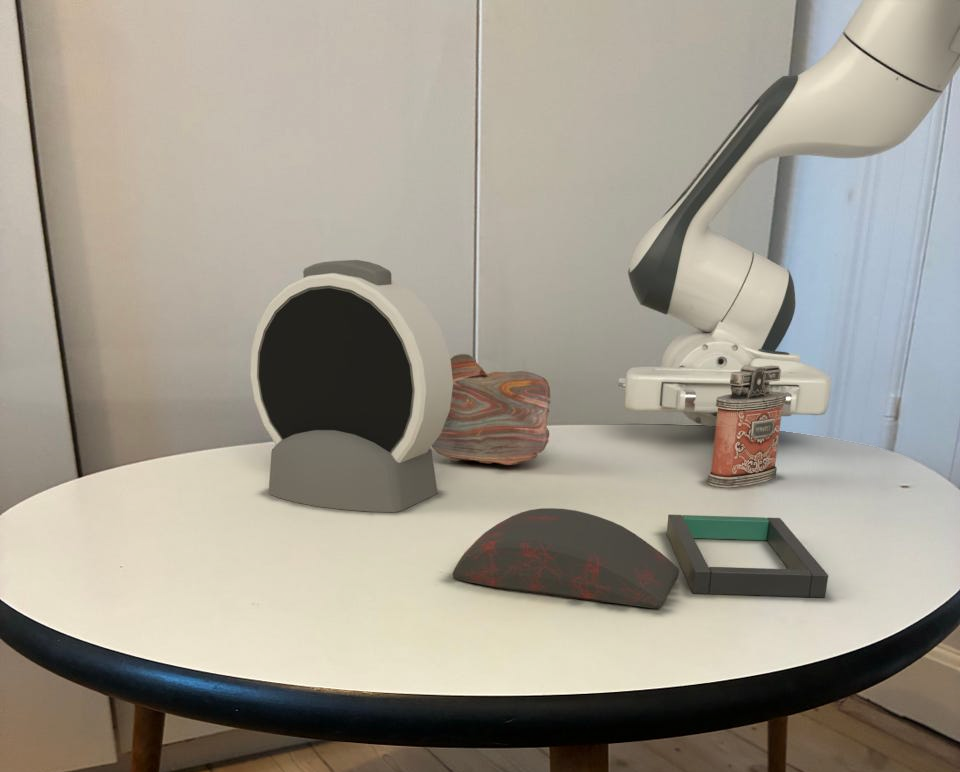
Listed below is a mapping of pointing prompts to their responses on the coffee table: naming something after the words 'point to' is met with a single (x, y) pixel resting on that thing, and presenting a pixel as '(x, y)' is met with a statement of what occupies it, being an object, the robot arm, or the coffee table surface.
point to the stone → (494, 415)
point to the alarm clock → (351, 389)
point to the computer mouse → (569, 559)
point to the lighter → (747, 429)
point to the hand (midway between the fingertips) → (737, 403)
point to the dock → (794, 581)
